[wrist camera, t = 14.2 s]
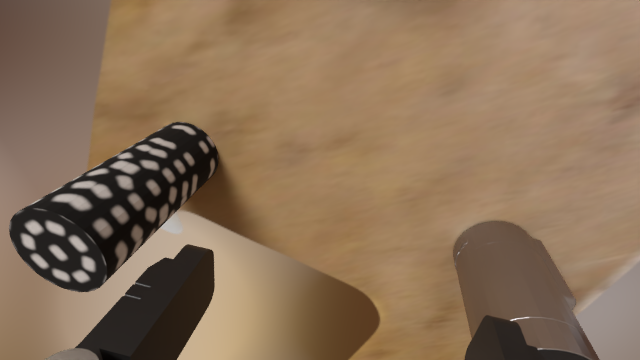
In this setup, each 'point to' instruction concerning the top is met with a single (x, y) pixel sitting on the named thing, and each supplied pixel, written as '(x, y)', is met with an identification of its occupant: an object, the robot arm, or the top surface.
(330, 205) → the top surface
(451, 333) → the top surface
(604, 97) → the top surface
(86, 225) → the white-spotted black cylinder
